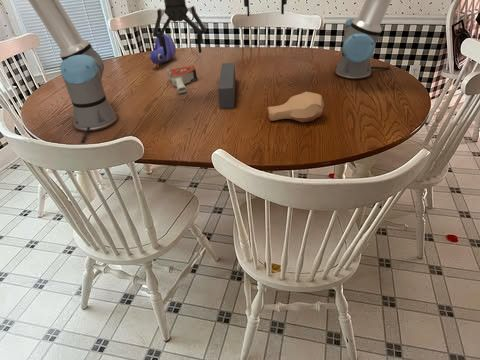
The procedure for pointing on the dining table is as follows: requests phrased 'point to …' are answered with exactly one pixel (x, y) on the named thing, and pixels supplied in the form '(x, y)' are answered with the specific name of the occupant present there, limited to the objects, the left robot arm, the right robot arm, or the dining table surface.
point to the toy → (159, 55)
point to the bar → (227, 85)
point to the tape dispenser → (181, 77)
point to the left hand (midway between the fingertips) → (183, 53)
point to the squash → (298, 108)
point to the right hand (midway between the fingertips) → (265, 14)
